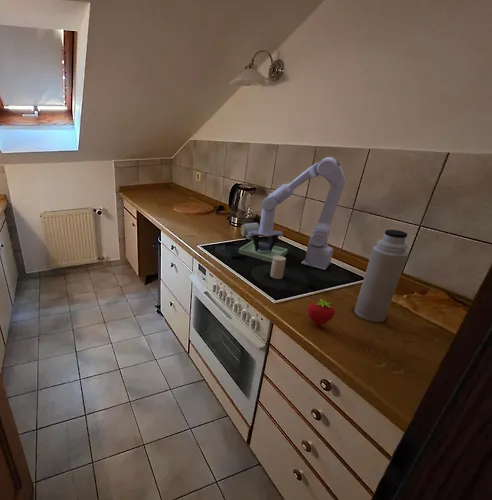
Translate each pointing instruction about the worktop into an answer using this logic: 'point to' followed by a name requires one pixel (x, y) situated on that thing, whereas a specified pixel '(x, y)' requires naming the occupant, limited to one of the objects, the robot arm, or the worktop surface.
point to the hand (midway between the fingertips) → (262, 250)
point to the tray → (262, 252)
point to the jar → (278, 267)
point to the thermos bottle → (382, 276)
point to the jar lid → (264, 246)
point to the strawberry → (320, 312)
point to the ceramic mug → (249, 229)
